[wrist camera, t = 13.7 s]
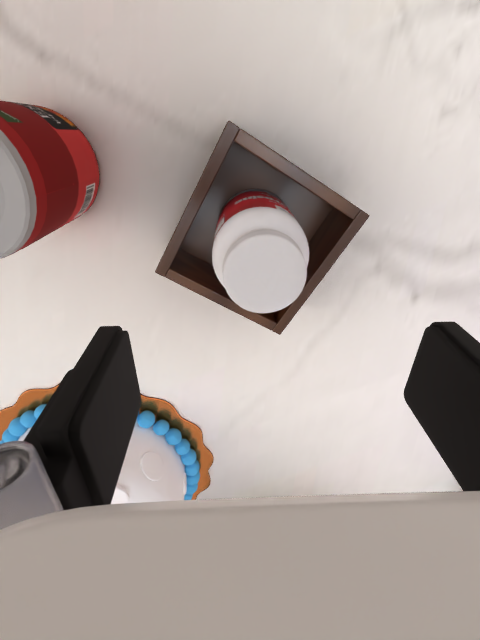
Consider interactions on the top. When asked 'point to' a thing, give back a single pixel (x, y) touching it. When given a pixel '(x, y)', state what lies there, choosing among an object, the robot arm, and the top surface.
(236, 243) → the pill bottle
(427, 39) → the top surface
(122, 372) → the robot arm
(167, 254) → the holder
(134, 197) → the top surface
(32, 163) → the canned food
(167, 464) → the wedding cake
